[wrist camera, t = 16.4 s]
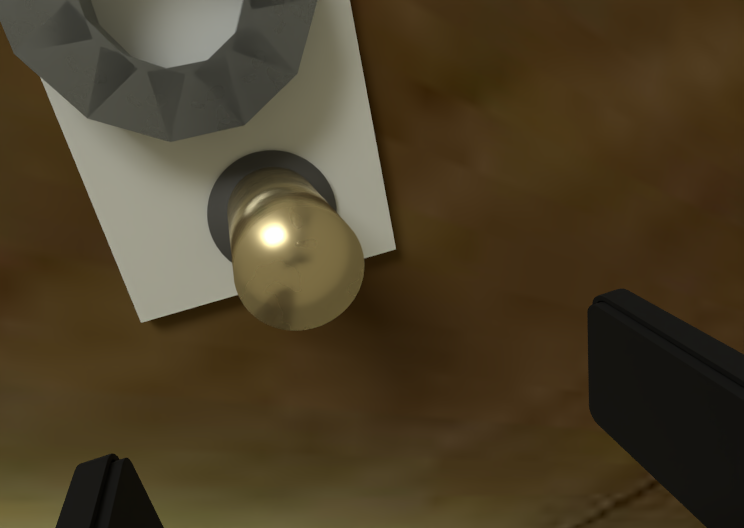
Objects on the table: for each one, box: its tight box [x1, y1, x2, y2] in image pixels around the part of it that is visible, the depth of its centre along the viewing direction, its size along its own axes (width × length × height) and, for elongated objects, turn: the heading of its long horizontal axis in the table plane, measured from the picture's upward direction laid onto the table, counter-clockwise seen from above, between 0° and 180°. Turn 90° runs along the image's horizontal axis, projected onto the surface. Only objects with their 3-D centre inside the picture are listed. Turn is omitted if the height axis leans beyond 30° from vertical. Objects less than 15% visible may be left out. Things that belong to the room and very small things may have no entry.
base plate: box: [40, 0, 396, 323], centre depth 26 cm, size 15×22×1 cm
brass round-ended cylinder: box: [227, 167, 364, 330], centre depth 24 cm, size 5×5×10 cm
